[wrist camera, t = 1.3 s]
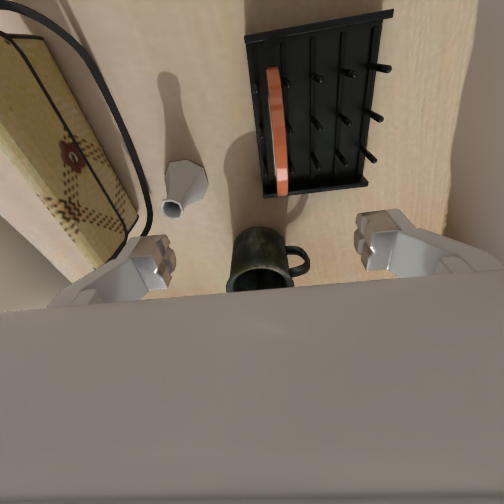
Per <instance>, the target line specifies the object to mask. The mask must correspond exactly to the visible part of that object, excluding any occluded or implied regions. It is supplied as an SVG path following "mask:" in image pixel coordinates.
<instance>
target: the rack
mask: <svg viewBox="0 0 504 504" xmlns="http://www.w3.org/2000/svg"><path fill="white" fill-rule="evenodd" d="M393 12H394V9H390V10H384V11H379V12H373V13H368V14H362V15H356V16H351V17H345V18H340V19H334V20H329V21H323V22H318V23H312V24H307V25H301V26H295V27H290V28H284V29H279V30H273V31H268V32H262V33H257V34H251V35H245V36H244V40H245V44H246V51H247V59H248V67H249V76H250V84H251V93H252V101H253V109H254V118H255V126H256V135H257V143H258V151H259V160H260V168H261V177H262V185H263V198H264V199H265V198H273V197H277V192H276V184H275V176H274V166H273V157H272V147H271V136H270V125H269V113H268V101H267V87H266V68H268V67H274V66H277V67H278V70H279V75H280V81H281V89H282V98H283V107H284V118H285V130H286V145H287V163H288V194H287V196H290V195H299V194H307V193H315V192H324V191H332V190H340V189H349V188H357V187H366V186H368V183H369V182H368V181H367V180H366V178H365V177H364V176H363V168H364V160H365V156H366V157H367V158H368V159H369V160H370V161H371V162H372V163H376V162H377V159H376V158H375V157H374V156H373V155H372V154H371V153H370V152H369V151H368V150H367V149H366V145H367V137H368V130H369V122H370V117H371V118H372V119H374V120H376V121H377V122H379V123H381V122H382V121H383V120H384V118H383V117H382V116H381V115H379V114H377V113H375V112H373V111H372V110H371V106H372V99H373V91H374V83H375V76H376V71H379V72H384V73H389V72H390V71H391V70H392V67H391V66H390V65H384V64H377V60H378V53H379V45H380V37H381V29H382V22H383V20H384V19H388V18H392V17H393ZM279 197H282V196H279Z"/></svg>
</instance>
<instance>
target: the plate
mask: <svg viewBox="0 0 504 504" xmlns="http://www.w3.org/2000/svg"><path fill="white" fill-rule="evenodd" d="M266 87H267V101H268V113H269V125H270V136H271V147H272V157H273V166H274V176H275V184H276V192H277V197H279V196H287V194H288V163H287V145H286V130H285V118H284V107H283V98H282V89H281V81H280V75H279V70H278V67H277V66H274V67H268V68H266Z"/></svg>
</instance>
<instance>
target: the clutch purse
mask: <svg viewBox="0 0 504 504" xmlns="http://www.w3.org/2000/svg"><path fill="white" fill-rule="evenodd" d="M0 9H1V10H10V11H14V12H17V13H20V14H22V15H25V16H27V17H30V18H32V19H34V20H36V21H38V22H40V23H41V24H43V25H45V26H46V27H48V28H49V29H51V30H52V31H53V32H55V33H56V34H58V35H59V36H60V37H61V38H63V39H64V40H65V41H66V42H68V43H69V44H70V45H71V46H72V47H73V48H74V49H75V50H76V51H77V52H78V53H79V54H80V56H81V57H82V58H83V60H84V61H85V63H86V64H87V66H88V68H89V70H90V71H91V73H92V75H93V77H94V79H95V81H96V83H97V84H98V86H99V88H100V90H101V92H102V94H103V96H104V98H105V100H106V102H107V104H108V106H109V108H110V110H111V112H112V114H113V116H114V119H115V121H116V123H117V125H118V127H119V129H120V132H121V134H122V136H123V138H124V141H125V143H126V146H127V148H128V151H129V153H130V156H131V159H132V161H133V164H134V167H135V169H136V172H137V175H138V178H139V181H140V185H141V188H142V191H143V195H144V199H145V203H146V208H147V222H146V226H145V228H144V230H143V232H142V234H141V235H140V236H147V234H148V233H149V230H150V228H151V225H152V221H153V210H152V204H151V200H150V196H149V192H148V188H147V185H146V181H145V178H144V175H143V172H142V169H141V166H140V163H139V160H138V158H137V155H136V152H135V150H134V147H133V144H132V142H131V139H130V137H129V134H128V132H127V130H126V127H125V125H124V123H123V121H122V118H121V116H120V114H119V112H118V110H117V108H116V105H115V103H114V101H113V99H112V97H111V95H110V93H109V91H108V89H107V87H106V85H105V83H104V81H103V79H102V77H101V75H100V73H99V71H98V70H97V68H96V66H95V64H94V62H93V61H92V59H91V57H90V56H89V54H88V53H87V52H86V50H85V49H84V48H83V47H82V46H81V45H80V44H79V43H78V42H77V41H76V40H75V39H74V38H73V37H72V36H71V35H70V34H68V33H67V32H66V31H65V30H64V29H62V28H61V27H60V26H58V25H57V24H56V23H54V22H53V21H51V20H50V19H48V18H47V17H45V16H44V15H42V14H40V13H38V12H37V11H35V10H33V9H30V8H28V7H26V6H24V5H21V4H18V3H15V2H12V1H8V0H0ZM0 148H1V149H2V150H3V152H4V153H5V154H6V156H7V157H8V158H9V159H10V161H11V162H12V163H13V165H14V166H15V167H16V169H17V170H18V171H19V172H20V174H21V175H22V176H23V178H24V179H25V180H26V181H27V183H28V184H29V185H30V187H31V188H32V189H33V190H34V192H35V193H36V194H37V196H38V197H39V198H40V200H41V201H42V202H43V203H44V205H45V206H46V207H47V209H48V210H49V211H50V212H51V214H52V215H53V216H54V218H55V219H56V220H57V221H58V223H59V224H60V225H61V227H62V228H63V229H64V231H65V232H66V233H67V234H68V236H69V237H70V238H71V240H72V241H73V242H74V243H75V245H76V246H77V247H78V249H79V250H80V251H81V253H82V254H83V255H84V256H85V258H86V259H87V260H88V262H89V263H90V264H91V265H92V267H93V268H94V270H96V269H97V268H99V267H101V266H102V265H104V264H106V263H107V262H109V261H111V260H113V259H116V258H117V257H118V255H119V254H120V252H121V251H122V249H123V248H124V246H125V245H126V242H127V238H128V234H129V233H130V231H131V230H132V228H133V227H134V226H135V224H136V222H137V221H138V218H139V215H138V214H137V213H136V211H135V209H134V207H133V206H132V204H131V202H130V200H129V198H128V196H127V195H126V193H125V191H124V189H123V187H122V185H121V183H120V182H119V180H118V178H117V176H116V174H115V172H114V171H113V169H112V167H111V165H110V163H109V161H108V159H107V158H106V156H105V154H104V152H103V150H102V148H101V147H100V145H99V143H98V141H97V139H96V137H95V135H94V134H93V132H92V130H91V128H90V126H89V124H88V123H87V121H86V119H85V117H84V115H83V113H82V111H81V110H80V108H79V106H78V104H77V102H76V100H75V99H74V97H73V95H72V93H71V91H70V89H69V87H68V86H67V84H66V82H65V80H64V78H63V76H62V75H61V73H60V71H59V69H58V67H57V65H56V63H55V62H54V60H53V58H52V56H51V54H50V52H49V51H48V49H47V47H46V45H45V43H44V38H43V37H41V36H37V35H27V34H8V33H4V32H2V31H0Z"/></svg>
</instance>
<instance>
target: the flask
mask: <svg viewBox="0 0 504 504" xmlns="http://www.w3.org/2000/svg"><path fill="white" fill-rule="evenodd" d="M165 184H166V190H167V198H166V199H163V200H162V203H161V206H160V210H161V212H162V214H163V216H164V217H167V218H169V219H172V220H173V219H180V218H181V217H182V214H183V212H184V208H185V207H186V206H187V205H189V204H191V203H193V202H195V201H197V200H200V199H202V198H203V196H204V193H205V191H206V189H207V186H208V182H207V178H206V175H205V171H204V168H203V167H201V166H198V165H196V164H194V163H192V162H190V161H188V160H182V161H176V162H170V163H169V166H168V169H167V172H166V175H165Z"/></svg>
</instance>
